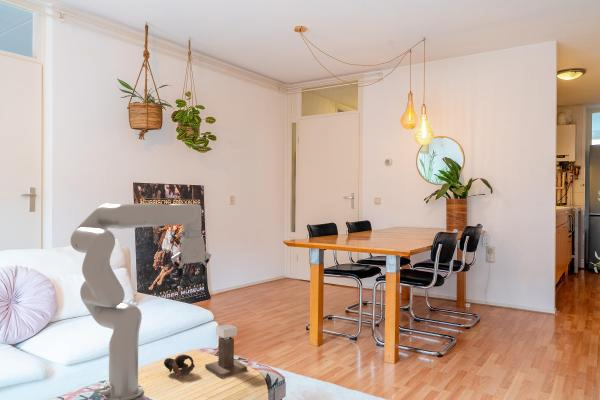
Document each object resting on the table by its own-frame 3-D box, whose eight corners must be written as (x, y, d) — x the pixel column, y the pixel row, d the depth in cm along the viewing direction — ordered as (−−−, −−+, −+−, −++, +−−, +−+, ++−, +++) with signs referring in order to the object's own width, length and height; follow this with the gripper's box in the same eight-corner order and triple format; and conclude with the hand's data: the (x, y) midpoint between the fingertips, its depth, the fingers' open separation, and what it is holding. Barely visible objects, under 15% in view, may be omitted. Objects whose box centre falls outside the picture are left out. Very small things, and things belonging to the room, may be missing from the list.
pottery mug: (195, 369, 177) (198, 354, 173) (188, 388, 168) (191, 374, 164) (165, 362, 176) (168, 347, 172) (157, 381, 167) (160, 366, 164)
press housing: (220, 378, 167) (220, 345, 167) (205, 368, 176) (205, 337, 176) (246, 370, 175) (247, 339, 174) (231, 361, 184) (231, 331, 184)
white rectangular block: (223, 368, 171) (223, 330, 171) (215, 364, 176) (216, 326, 175) (236, 365, 175) (236, 327, 175) (228, 360, 179) (229, 324, 179)
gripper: (175, 236, 170) (175, 280, 171) (215, 234, 182) (214, 275, 182) (167, 234, 176) (167, 277, 176) (206, 232, 187) (206, 272, 188)
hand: (191, 276), depth 179 cm, fingers open, 9 cm apart
